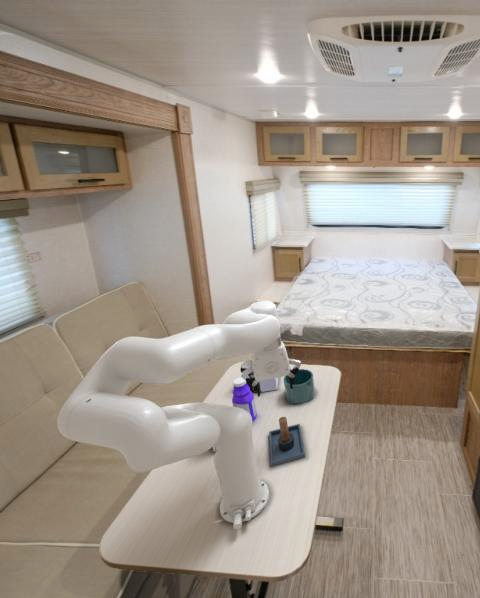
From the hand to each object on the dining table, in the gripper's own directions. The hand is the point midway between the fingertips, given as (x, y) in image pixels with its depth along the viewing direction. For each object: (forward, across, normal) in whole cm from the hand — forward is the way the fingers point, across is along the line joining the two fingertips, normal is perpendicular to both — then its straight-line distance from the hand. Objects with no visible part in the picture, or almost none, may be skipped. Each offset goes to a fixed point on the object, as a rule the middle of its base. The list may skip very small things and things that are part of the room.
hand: (275, 390), depth 107 cm
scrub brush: (+21, +1, -2) cm, 21 cm away
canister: (+22, +9, +24) cm, 33 cm away
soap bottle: (+22, -2, +36) cm, 42 cm away
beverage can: (+22, -9, +36) cm, 43 cm away
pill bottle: (+22, -20, +7) cm, 30 cm away
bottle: (+22, -11, +17) cm, 30 cm away
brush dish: (+22, +1, -2) cm, 22 cm away
